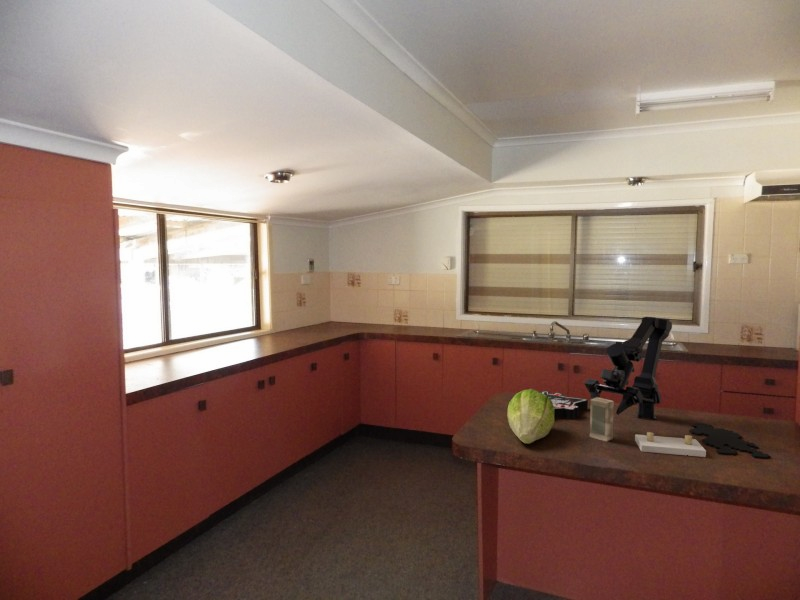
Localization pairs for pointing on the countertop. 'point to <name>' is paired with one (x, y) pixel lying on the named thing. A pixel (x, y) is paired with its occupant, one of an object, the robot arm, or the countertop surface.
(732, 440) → the ragged black cutout
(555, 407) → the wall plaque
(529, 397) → the lettuce
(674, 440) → the white peg rack
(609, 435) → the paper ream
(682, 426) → the countertop surface
